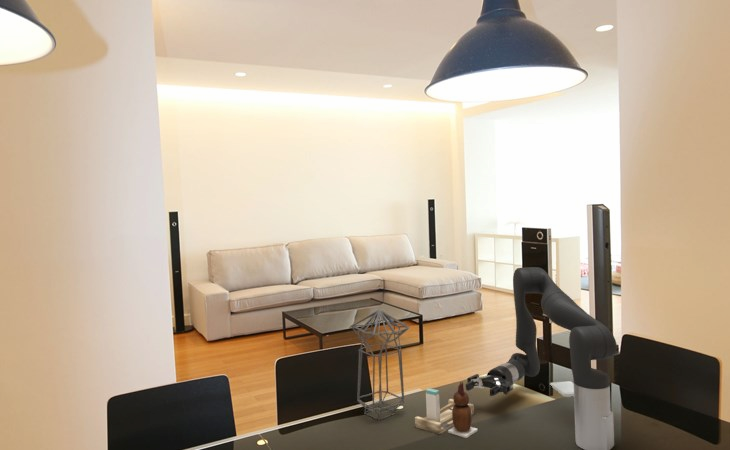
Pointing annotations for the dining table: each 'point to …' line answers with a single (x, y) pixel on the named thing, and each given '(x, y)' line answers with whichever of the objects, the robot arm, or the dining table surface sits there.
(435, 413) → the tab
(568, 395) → the hard drive
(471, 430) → the pad
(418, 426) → the light wooden tray
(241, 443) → the dining table surface
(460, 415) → the wooden figurine
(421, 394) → the dining table surface
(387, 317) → the geometric lantern
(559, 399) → the dining table surface
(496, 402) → the dining table surface
